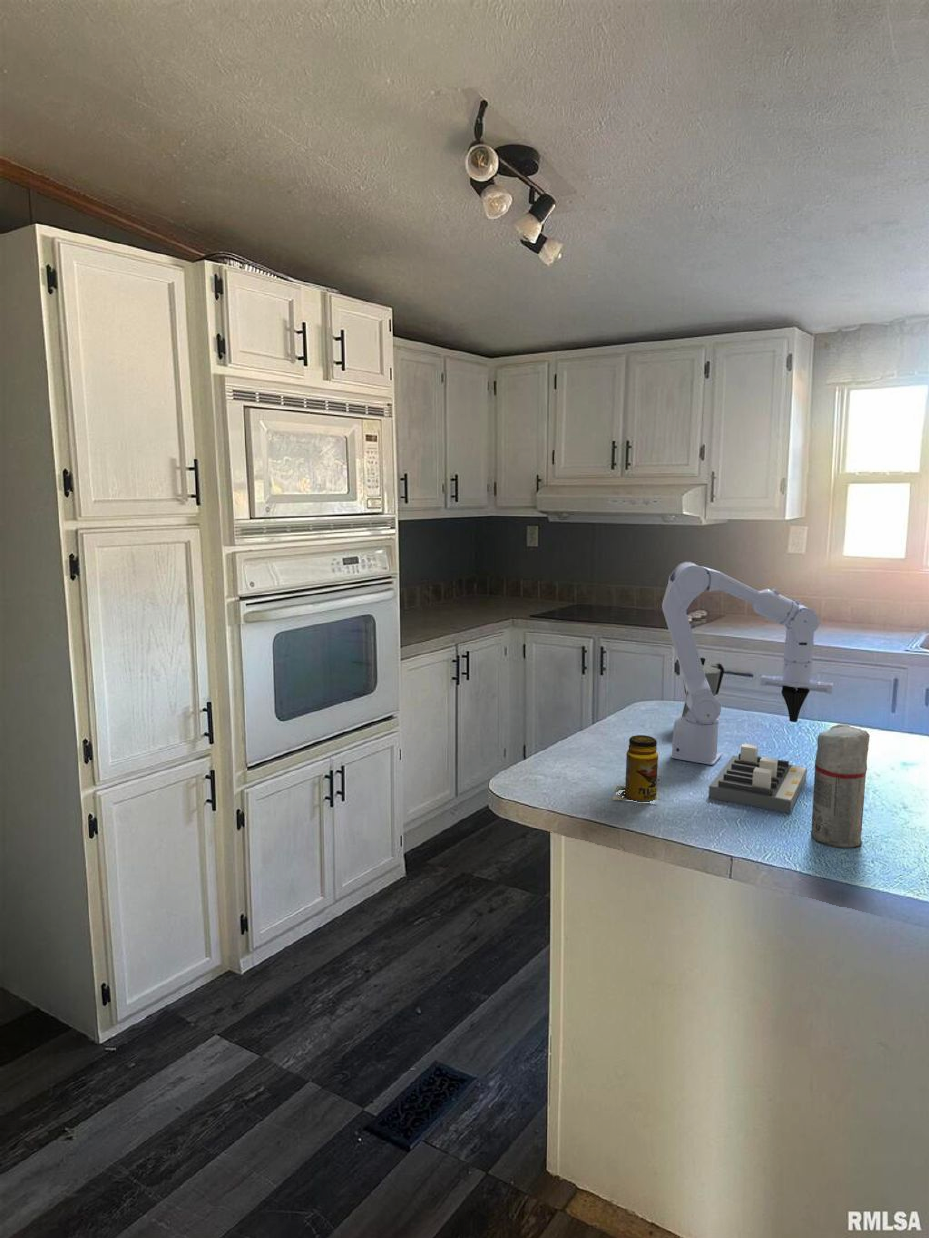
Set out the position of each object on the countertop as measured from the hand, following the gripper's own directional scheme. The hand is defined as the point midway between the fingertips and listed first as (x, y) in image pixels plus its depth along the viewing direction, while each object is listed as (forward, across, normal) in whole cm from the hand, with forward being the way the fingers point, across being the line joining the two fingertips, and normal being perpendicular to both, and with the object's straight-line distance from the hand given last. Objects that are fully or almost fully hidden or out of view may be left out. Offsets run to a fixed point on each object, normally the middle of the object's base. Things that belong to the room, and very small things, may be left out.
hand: (793, 720), depth 173 cm
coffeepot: (+10, -24, +17) cm, 31 cm away
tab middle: (+7, -2, -20) cm, 21 cm away
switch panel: (+9, -3, -20) cm, 22 cm away
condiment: (+10, -23, -37) cm, 45 cm away
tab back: (+7, -7, -13) cm, 16 cm away
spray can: (+10, +13, -38) cm, 41 cm away
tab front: (+7, -1, -27) cm, 28 cm away
